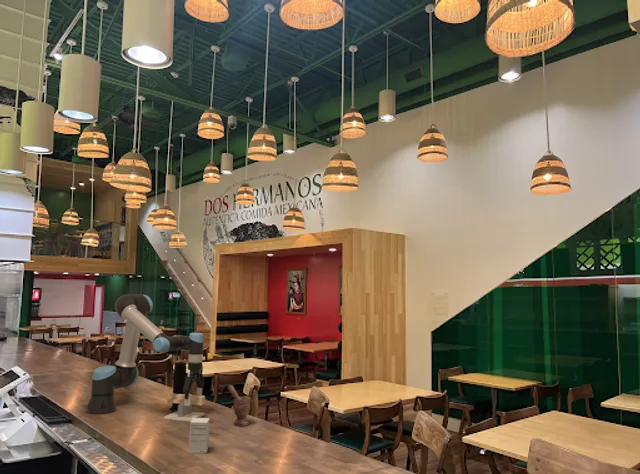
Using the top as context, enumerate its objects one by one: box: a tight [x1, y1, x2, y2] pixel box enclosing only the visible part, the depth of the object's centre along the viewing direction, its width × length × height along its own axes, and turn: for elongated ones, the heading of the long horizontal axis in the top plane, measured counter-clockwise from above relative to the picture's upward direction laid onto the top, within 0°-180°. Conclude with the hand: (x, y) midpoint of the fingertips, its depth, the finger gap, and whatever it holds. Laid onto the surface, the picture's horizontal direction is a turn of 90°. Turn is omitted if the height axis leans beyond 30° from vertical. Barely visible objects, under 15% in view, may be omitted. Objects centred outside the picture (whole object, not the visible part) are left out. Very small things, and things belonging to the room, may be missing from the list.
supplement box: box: [188, 417, 211, 455], centre depth 209 cm, size 7×7×13 cm
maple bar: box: [166, 392, 206, 406], centre depth 265 cm, size 20×4×4 cm, turn 77°
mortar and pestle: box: [227, 384, 252, 427], centre depth 252 cm, size 12×9×20 cm
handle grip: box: [168, 361, 188, 412], centre depth 283 cm, size 10×26×10 cm
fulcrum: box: [163, 404, 205, 422], centre depth 264 cm, size 16×14×7 cm
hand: (193, 402), depth 264 cm, fingers open, 13 cm apart
